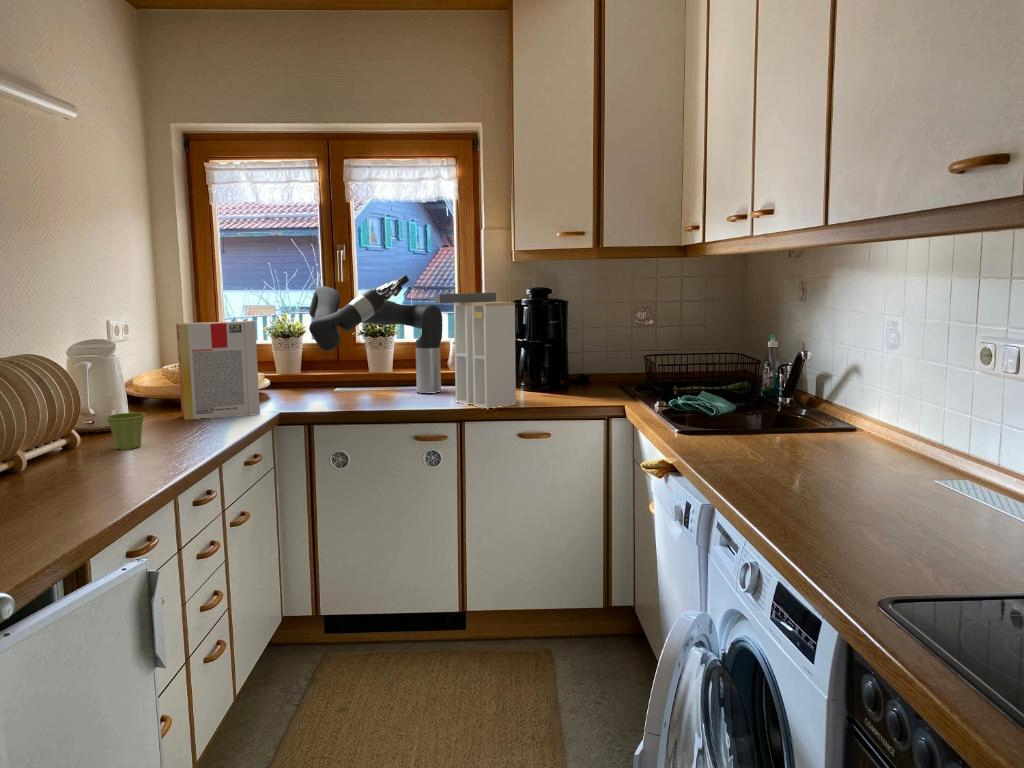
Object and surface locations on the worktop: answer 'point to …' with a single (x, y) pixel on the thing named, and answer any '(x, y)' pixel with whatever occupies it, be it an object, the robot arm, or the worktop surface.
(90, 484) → the worktop surface
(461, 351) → the rack
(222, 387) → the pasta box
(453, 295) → the slat
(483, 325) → the rack
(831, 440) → the worktop surface
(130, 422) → the plant pot
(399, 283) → the robot arm
